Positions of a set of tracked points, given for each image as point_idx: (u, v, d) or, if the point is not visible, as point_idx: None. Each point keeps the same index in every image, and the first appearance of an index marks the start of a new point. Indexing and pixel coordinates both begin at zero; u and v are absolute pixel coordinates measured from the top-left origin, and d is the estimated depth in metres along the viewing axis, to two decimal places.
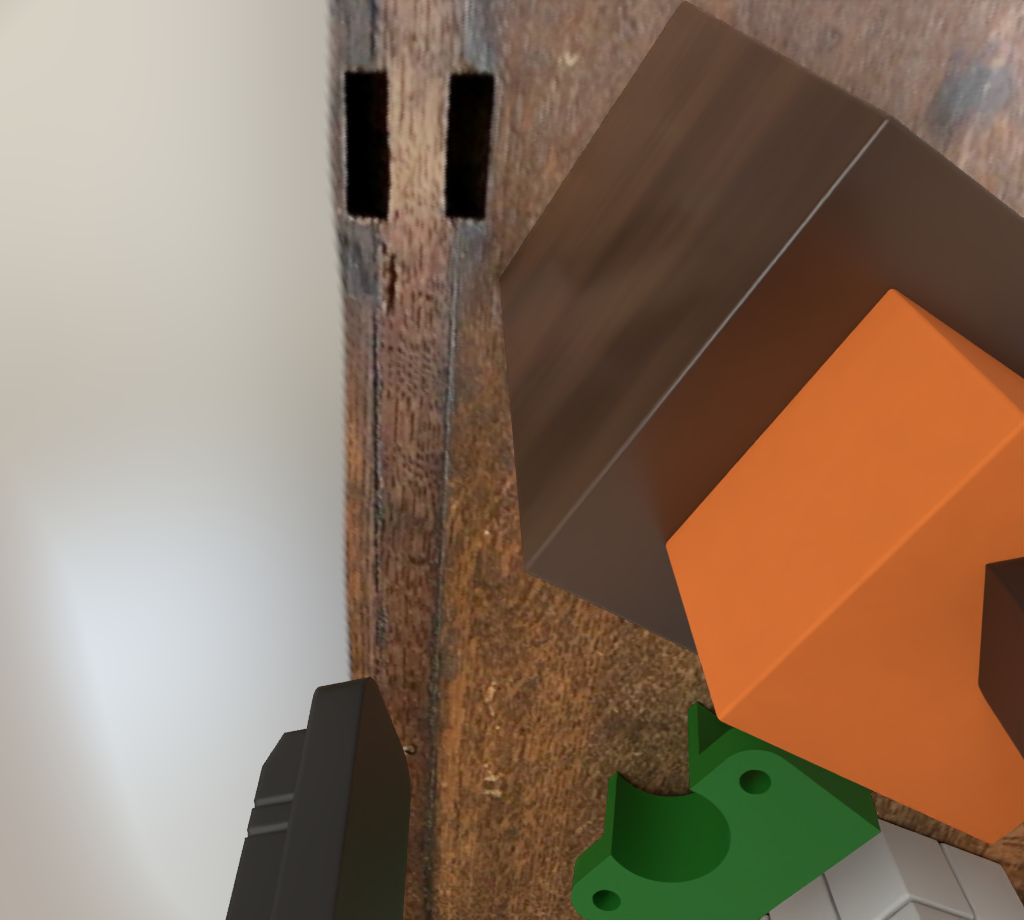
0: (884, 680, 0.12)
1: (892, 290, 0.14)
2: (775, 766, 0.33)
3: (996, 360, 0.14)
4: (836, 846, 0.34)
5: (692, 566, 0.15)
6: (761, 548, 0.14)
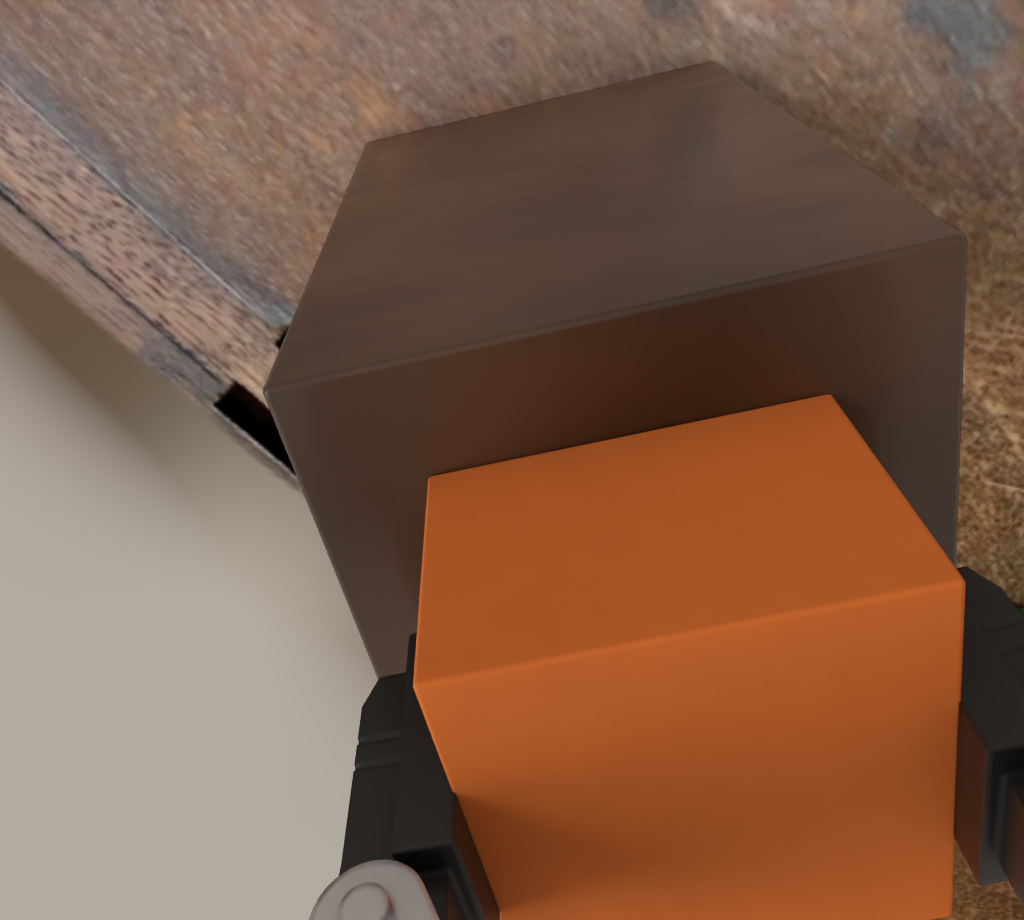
0: (614, 887, 0.11)
1: (428, 480, 0.13)
2: None
3: (585, 447, 0.13)
4: None
5: None
6: None
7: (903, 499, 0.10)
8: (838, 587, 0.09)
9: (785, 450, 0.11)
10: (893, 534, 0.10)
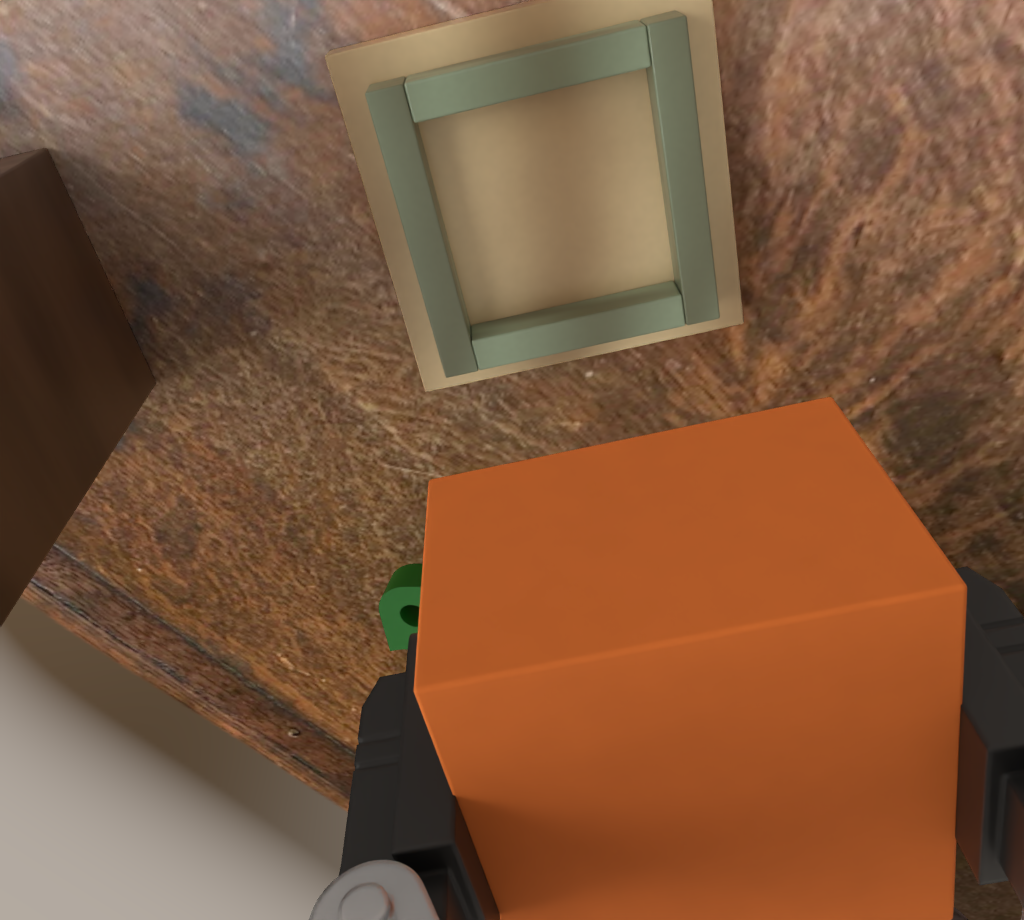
0: (615, 891, 0.11)
1: (429, 483, 0.13)
2: (408, 595, 0.36)
3: (586, 450, 0.13)
4: None
5: None
6: None
7: (905, 502, 0.10)
8: (840, 592, 0.09)
9: (786, 453, 0.11)
10: (893, 537, 0.10)
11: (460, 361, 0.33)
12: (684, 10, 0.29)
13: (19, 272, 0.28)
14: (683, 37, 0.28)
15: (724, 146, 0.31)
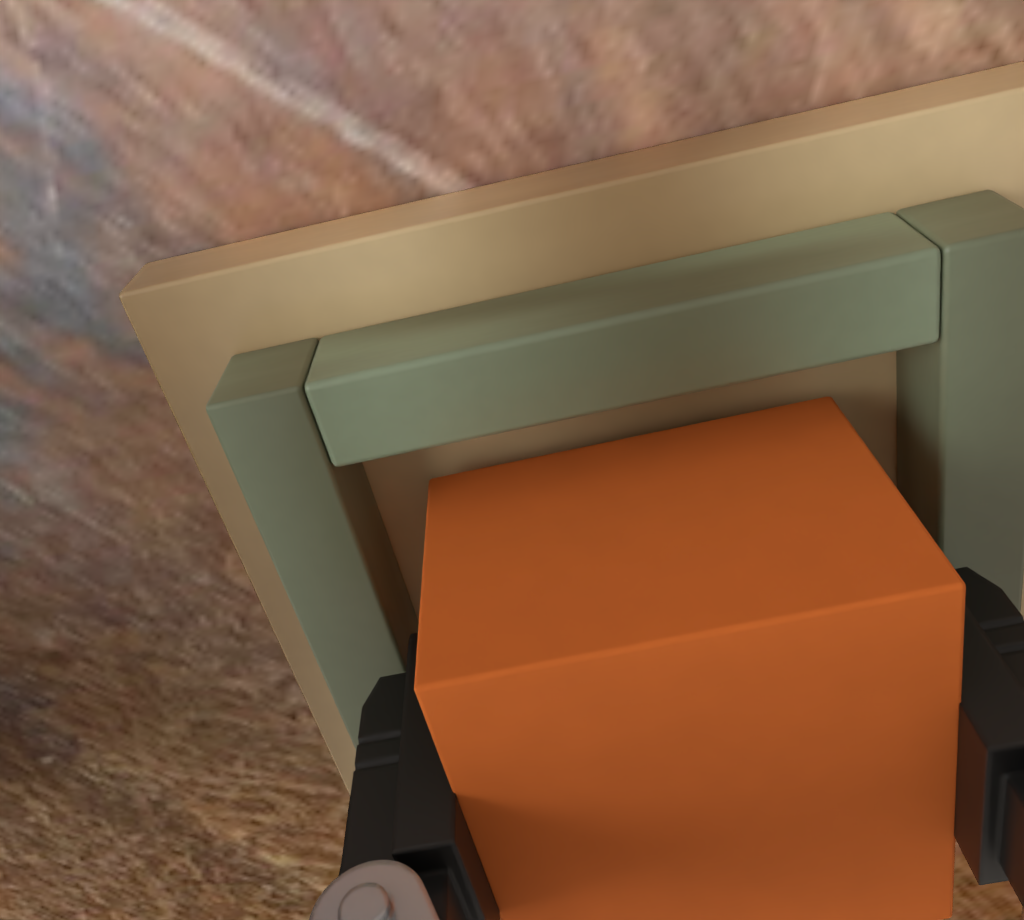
0: (615, 889, 0.11)
1: (429, 483, 0.13)
2: None
3: (586, 450, 0.13)
4: None
5: None
6: None
7: (904, 500, 0.10)
8: (840, 591, 0.09)
9: (785, 452, 0.11)
10: (893, 536, 0.10)
11: None
12: (1006, 188, 0.12)
13: None
14: None
15: None
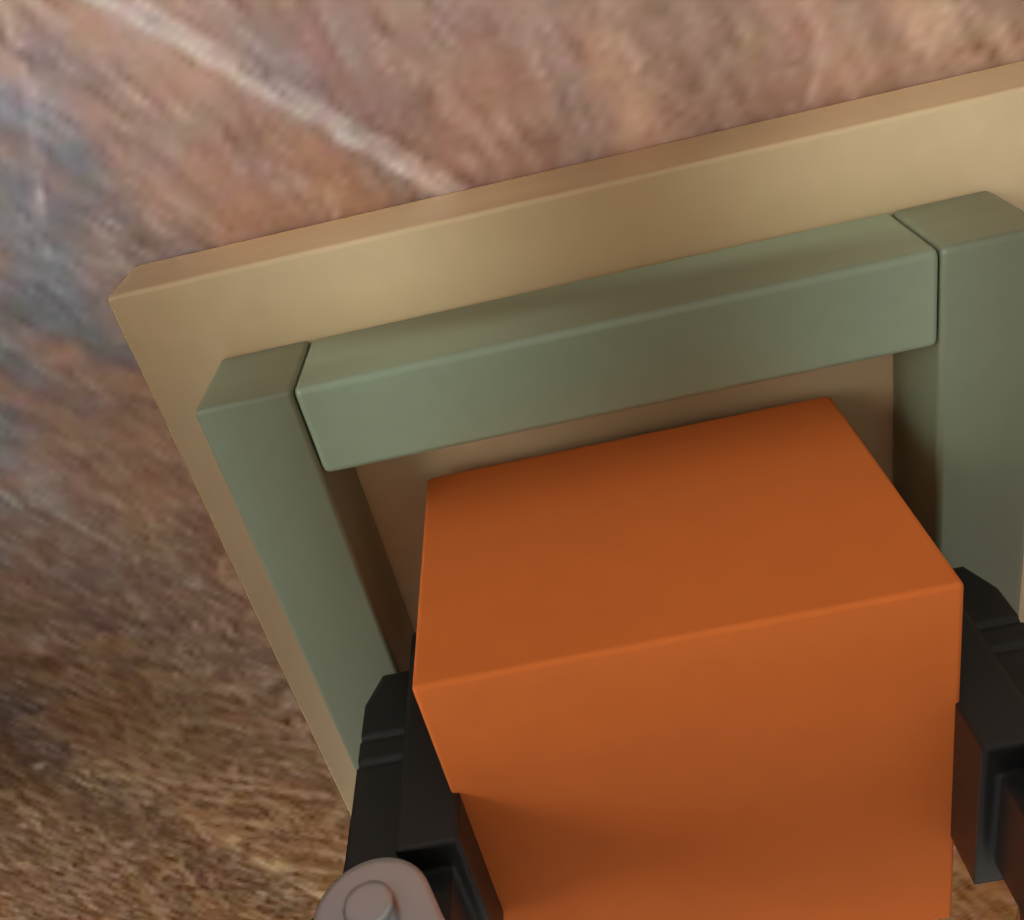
0: (613, 889, 0.11)
1: (428, 482, 0.13)
2: None
3: (585, 450, 0.13)
4: None
5: None
6: None
7: (903, 500, 0.10)
8: (837, 591, 0.09)
9: (784, 452, 0.12)
10: (891, 536, 0.10)
11: None
12: (1004, 189, 0.11)
13: None
14: None
15: None
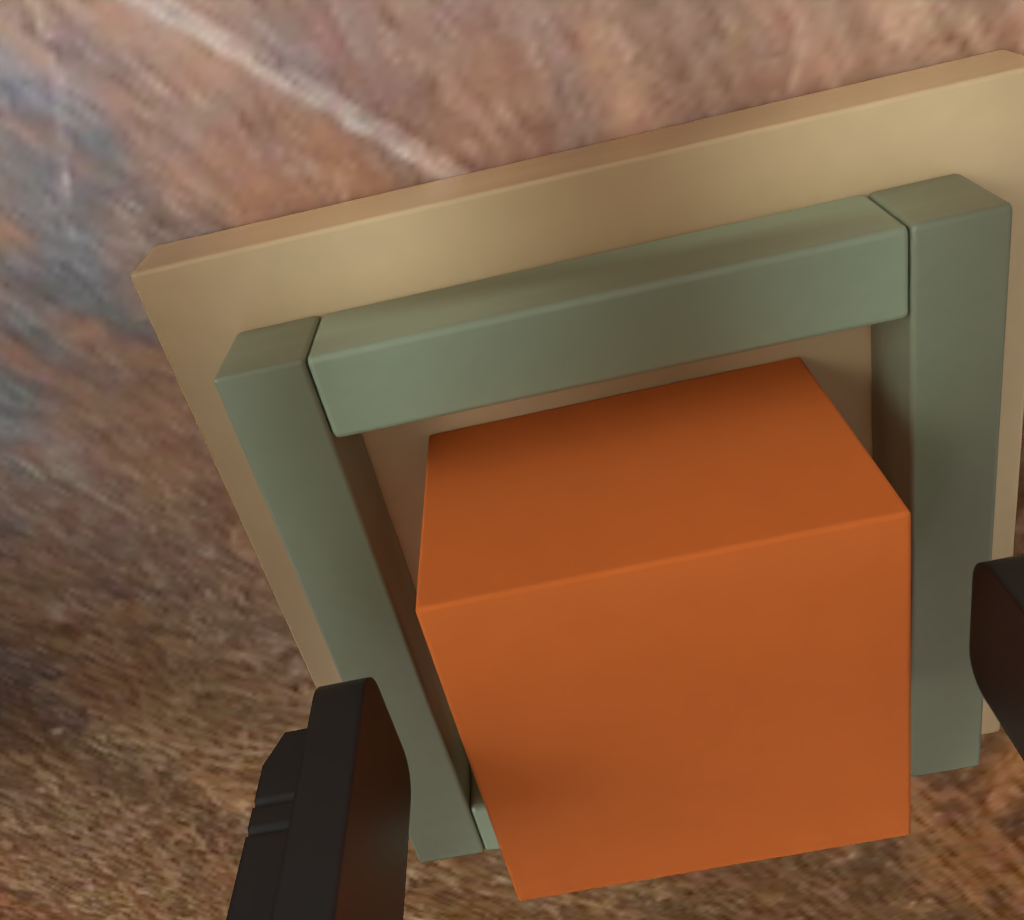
0: (599, 806, 0.12)
1: (429, 438, 0.14)
2: None
3: (574, 407, 0.14)
4: None
5: None
6: None
7: (861, 445, 0.11)
8: (799, 521, 0.10)
9: (756, 406, 0.13)
10: (848, 474, 0.11)
11: (449, 840, 0.16)
12: (973, 172, 0.12)
13: None
14: (998, 254, 0.11)
15: (1017, 442, 0.14)
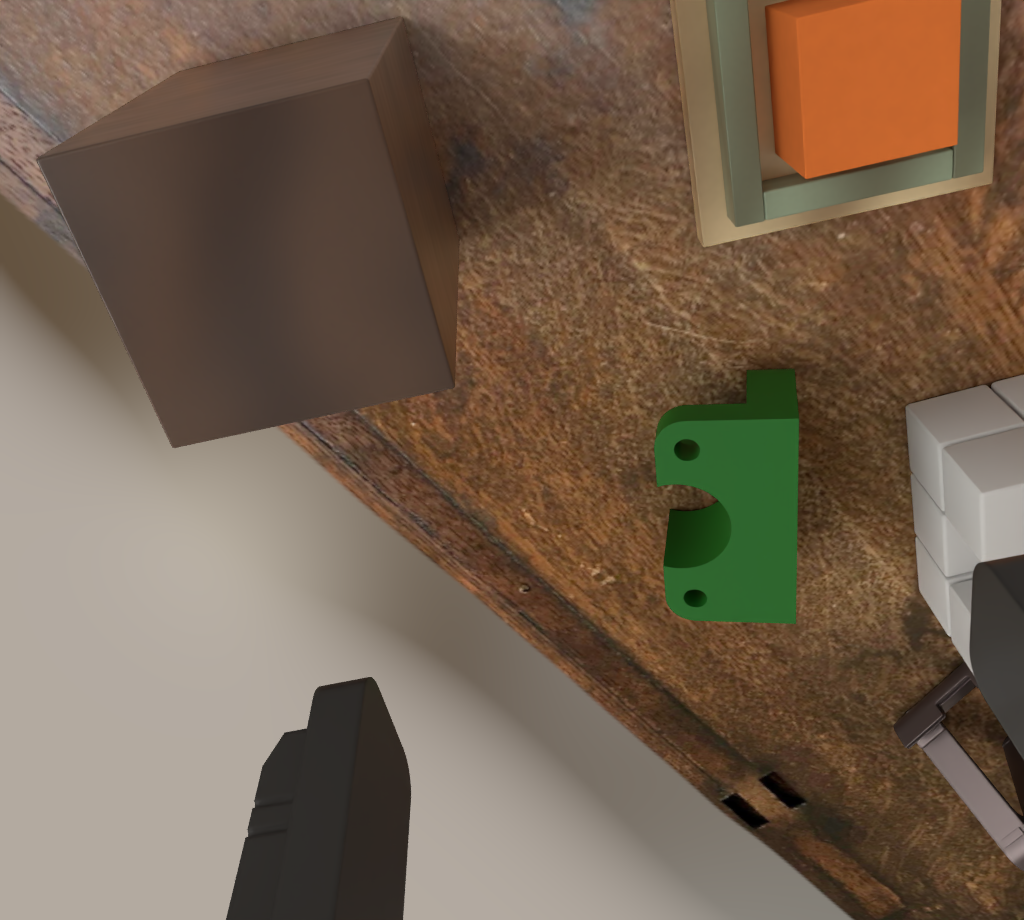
0: (844, 121, 0.33)
1: (765, 6, 0.35)
2: (686, 430, 0.40)
3: None
4: (784, 451, 0.40)
5: (781, 149, 0.36)
6: (787, 120, 0.35)
7: None
8: None
9: None
10: None
11: (751, 211, 0.37)
12: None
13: (412, 111, 0.33)
14: None
15: (999, 14, 0.35)
